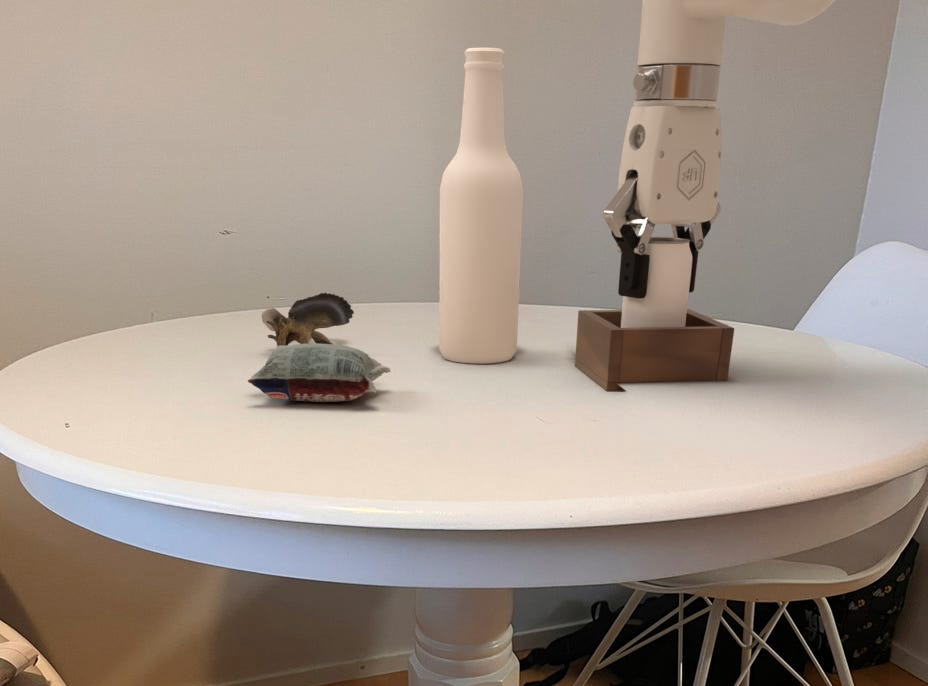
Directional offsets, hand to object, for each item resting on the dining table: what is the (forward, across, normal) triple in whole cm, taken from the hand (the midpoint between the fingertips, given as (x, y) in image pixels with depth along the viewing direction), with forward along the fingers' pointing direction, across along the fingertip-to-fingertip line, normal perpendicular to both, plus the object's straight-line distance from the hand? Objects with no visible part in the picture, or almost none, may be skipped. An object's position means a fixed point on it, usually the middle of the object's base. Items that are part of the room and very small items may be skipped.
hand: (656, 292), depth 98 cm
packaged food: (+9, -32, +12) cm, 36 cm away
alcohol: (+9, -8, +18) cm, 22 cm away
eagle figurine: (+9, -22, +32) cm, 40 cm away
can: (+7, 0, 0) cm, 7 cm away
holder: (+8, 0, 0) cm, 8 cm away
